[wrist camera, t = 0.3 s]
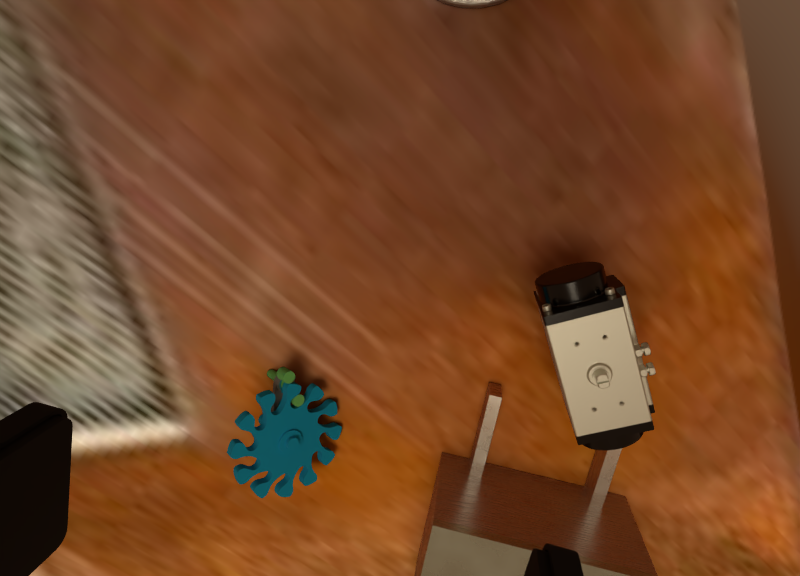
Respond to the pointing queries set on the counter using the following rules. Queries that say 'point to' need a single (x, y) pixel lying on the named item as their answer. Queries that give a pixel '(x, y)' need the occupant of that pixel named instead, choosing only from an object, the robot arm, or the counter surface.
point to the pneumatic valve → (596, 355)
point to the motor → (525, 516)
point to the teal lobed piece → (284, 435)
